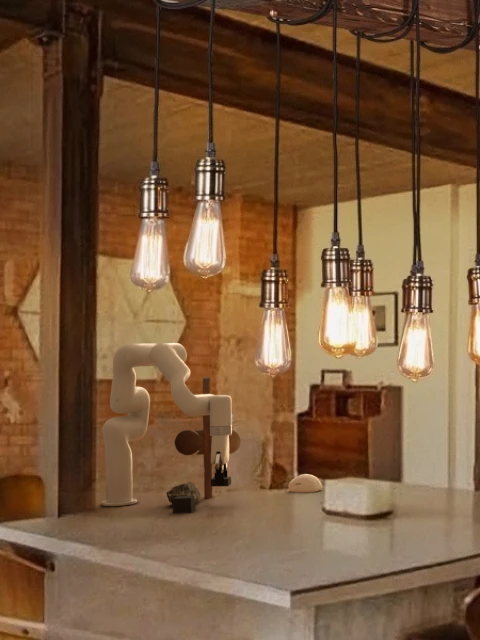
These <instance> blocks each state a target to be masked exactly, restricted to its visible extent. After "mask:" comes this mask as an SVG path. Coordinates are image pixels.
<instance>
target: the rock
mask: <svg viewBox="0 0 480 640" xmlns="http://www.w3.org/2000/svg"><path fill="white" fill-rule="evenodd" d="M177 496H195V503H196V502H198V501H200V500H201V498H202V497H201V492H200V490H199V489H198V487H197V485H196V484H195V483H193V482H192V481H189V482H185V483H181V484H178V485H175V486H173V487H171V488H170V490H168V491H166V497H167V500H168V502H169V503H170V504H171V505H172V506H174V500H173V499H174V498H175V497H177Z"/></svg>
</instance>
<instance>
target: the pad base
mask: <svg viewBox="0 0 480 640" xmlns="http://www.w3.org/2000/svg"><path fill="white" fill-rule="evenodd" d="M194 511H196V502H195V503H194V504H192V505H187V506H174V505H172V514H192V513H193V512H194Z"/></svg>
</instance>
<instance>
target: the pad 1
mask: <svg viewBox="0 0 480 640" xmlns="http://www.w3.org/2000/svg"><path fill="white" fill-rule="evenodd" d="M173 500H174V505H173V506H187V505H192V504H194V503H195V504H196V502H195V496H177V497H175V498H174V499H173Z"/></svg>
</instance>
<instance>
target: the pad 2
mask: <svg viewBox="0 0 480 640" xmlns="http://www.w3.org/2000/svg"><path fill="white" fill-rule="evenodd" d="M231 485H232V476H228V477H224V484H223V485H215V484H214V476H212V479H211V487H212V488H213V487H215V488H216V487H229V486H231Z"/></svg>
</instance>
